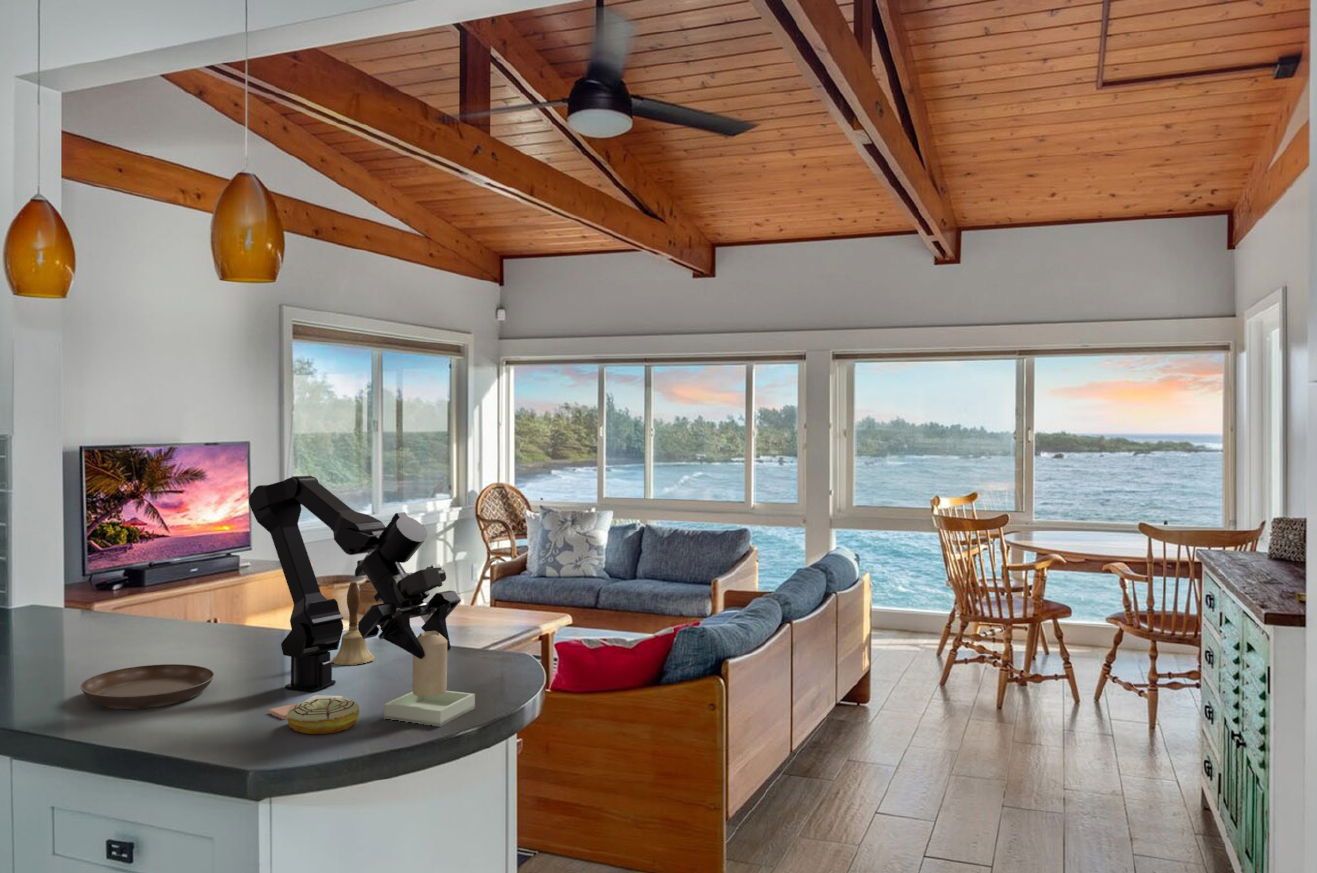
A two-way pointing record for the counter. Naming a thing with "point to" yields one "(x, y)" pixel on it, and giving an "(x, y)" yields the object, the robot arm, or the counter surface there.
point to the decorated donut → (323, 715)
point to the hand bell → (353, 635)
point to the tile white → (322, 697)
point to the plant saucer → (147, 685)
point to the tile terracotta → (281, 711)
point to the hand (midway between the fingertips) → (436, 653)
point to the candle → (430, 666)
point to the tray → (430, 708)
